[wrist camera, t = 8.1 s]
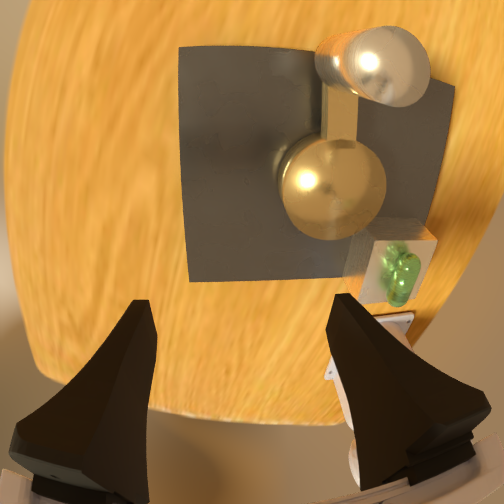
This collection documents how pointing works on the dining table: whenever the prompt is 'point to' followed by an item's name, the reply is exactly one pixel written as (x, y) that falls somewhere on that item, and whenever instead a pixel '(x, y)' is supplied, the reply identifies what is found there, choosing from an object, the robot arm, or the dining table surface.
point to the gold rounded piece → (349, 130)
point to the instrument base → (267, 168)
